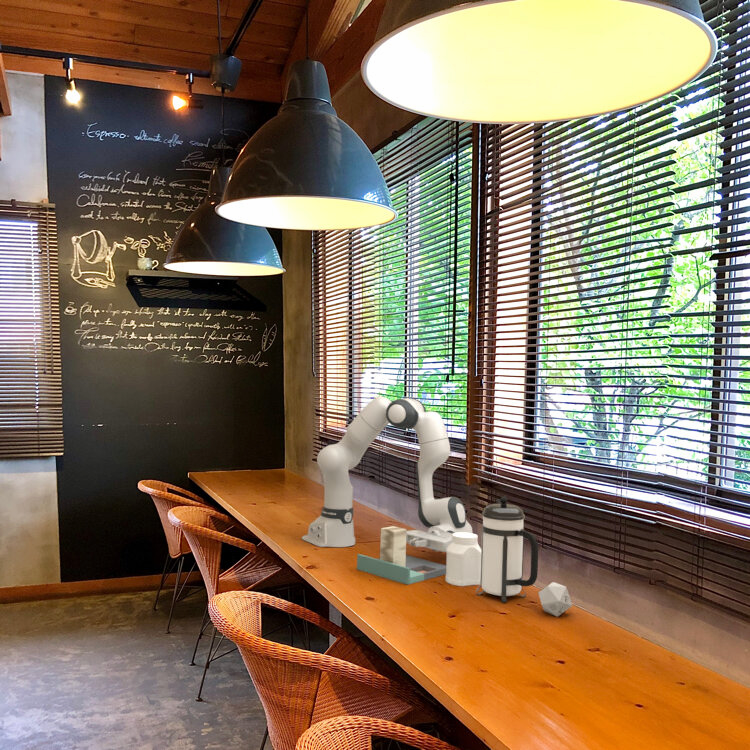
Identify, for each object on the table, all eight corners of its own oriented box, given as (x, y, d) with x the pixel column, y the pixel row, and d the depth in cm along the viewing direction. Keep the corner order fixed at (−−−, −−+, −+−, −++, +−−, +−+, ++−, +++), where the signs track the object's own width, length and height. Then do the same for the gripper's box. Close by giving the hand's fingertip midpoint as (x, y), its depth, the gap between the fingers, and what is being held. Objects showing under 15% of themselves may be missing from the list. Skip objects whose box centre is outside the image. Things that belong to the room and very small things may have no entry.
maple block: (379, 567, 232) (380, 528, 232) (392, 564, 236) (393, 526, 236) (392, 571, 228) (394, 531, 228) (405, 568, 232) (406, 529, 232)
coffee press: (476, 602, 204) (479, 499, 205) (475, 586, 220) (478, 491, 221) (536, 607, 202) (540, 503, 202) (532, 590, 218) (534, 494, 218)
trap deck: (356, 569, 236) (357, 554, 236) (400, 559, 252) (401, 545, 252) (407, 584, 220) (408, 568, 220) (451, 572, 236) (451, 557, 236)
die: (540, 619, 193) (562, 595, 190) (527, 595, 201) (548, 571, 197) (561, 627, 197) (584, 602, 194) (548, 602, 204) (569, 579, 201)
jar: (454, 587, 219) (456, 539, 219) (440, 578, 228) (442, 532, 228) (486, 584, 224) (488, 537, 224) (471, 576, 233) (473, 530, 233)
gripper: (416, 524, 256) (391, 529, 246) (461, 534, 242) (435, 539, 232) (416, 541, 256) (390, 547, 246) (460, 552, 242) (435, 558, 232)
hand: (412, 543), depth 239 cm, fingers closed
